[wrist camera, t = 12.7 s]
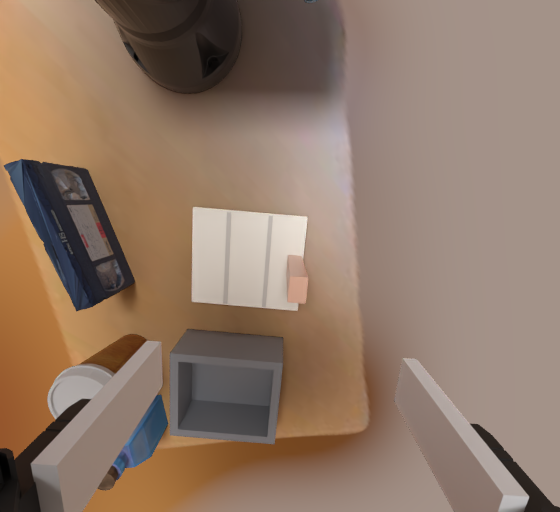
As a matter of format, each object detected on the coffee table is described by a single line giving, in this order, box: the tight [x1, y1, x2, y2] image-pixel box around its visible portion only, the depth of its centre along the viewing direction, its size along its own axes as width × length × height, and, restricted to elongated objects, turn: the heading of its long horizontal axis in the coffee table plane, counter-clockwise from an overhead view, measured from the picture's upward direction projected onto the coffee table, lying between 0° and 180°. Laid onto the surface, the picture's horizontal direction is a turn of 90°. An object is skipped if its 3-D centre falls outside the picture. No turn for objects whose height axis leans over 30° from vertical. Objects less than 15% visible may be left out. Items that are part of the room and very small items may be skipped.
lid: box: [192, 207, 308, 311], centre depth 35 cm, size 15×17×13 cm
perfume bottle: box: [98, 395, 168, 490], centre depth 41 cm, size 6×6×12 cm
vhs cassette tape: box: [4, 159, 135, 311], centre depth 35 cm, size 18×3×10 cm, turn 15°
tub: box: [170, 329, 283, 444], centre depth 42 cm, size 14×16×7 cm
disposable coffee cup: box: [48, 334, 147, 419], centre depth 39 cm, size 10×10×12 cm
